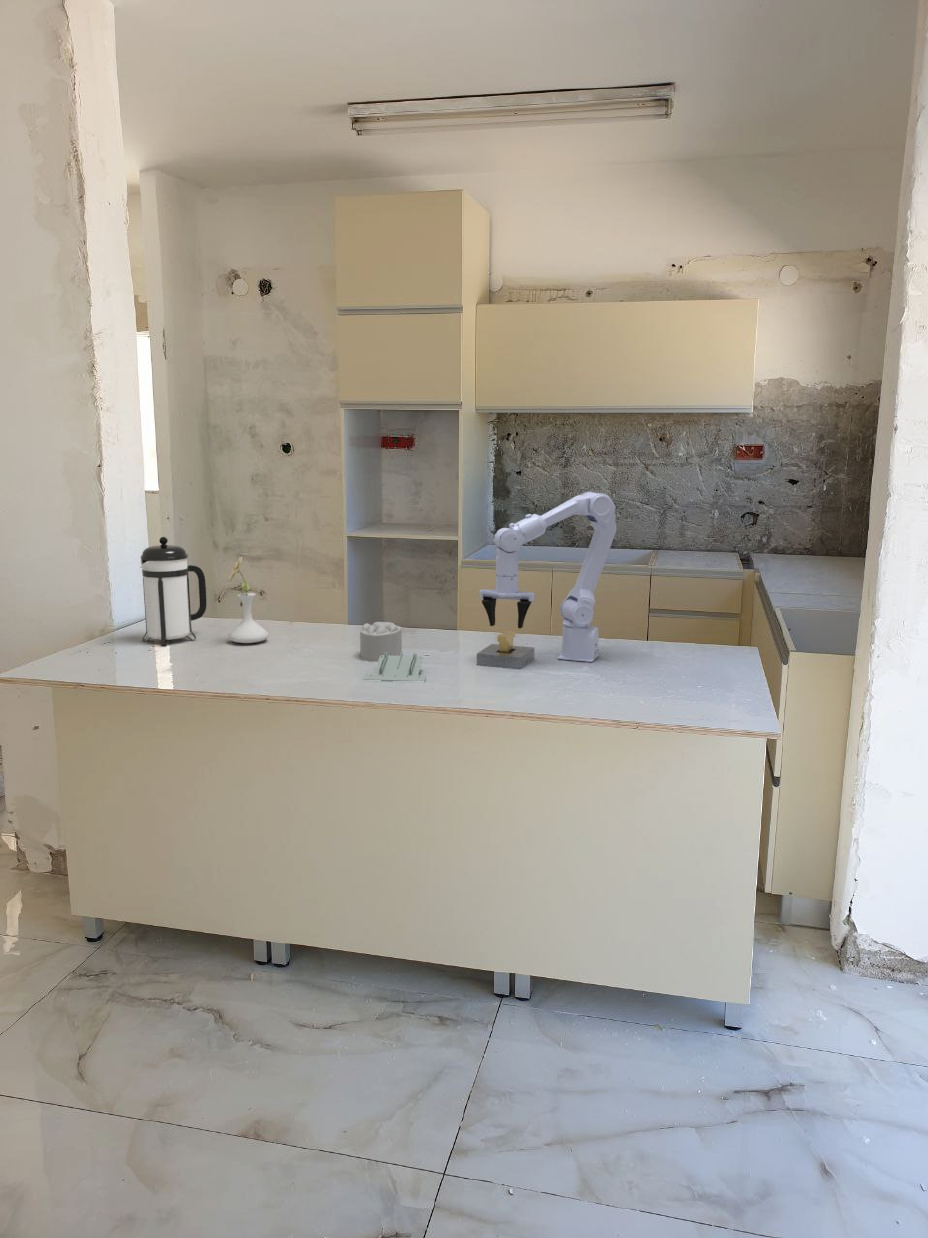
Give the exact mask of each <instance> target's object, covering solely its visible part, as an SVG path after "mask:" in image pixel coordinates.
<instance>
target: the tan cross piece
mask: <svg viewBox="0 0 928 1238" xmlns="http://www.w3.org/2000/svg"><path fill="white" fill-rule="evenodd" d="M514 638H516V632H515V631H512V630H504V631H503V632H502V633H500V634H499V635H497V637H496V639H497V643H498V645H499V653H511V652H513V646H514Z"/></svg>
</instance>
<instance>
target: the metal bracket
mask: <svg viewBox="0 0 928 1238" xmlns="http://www.w3.org/2000/svg"><path fill="white" fill-rule="evenodd" d="M381 657H382V658H381ZM423 660H424V656H421V655H417V652H413V653H412V655H403V650H402V651H401V655H400V656H390V655H388V652H387V653H386V652H385V654H384V655H381V656H380V657H379V660H378V661H377V664H376V667H375V670H374V672H373V673H365V675H364V676H363V680H381V681H380V682H393V681H425V682H426V677H427V675H426V674H425V675H422V674H420V671H421V667H422V663H423Z"/></svg>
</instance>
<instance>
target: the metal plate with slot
mask: <svg viewBox="0 0 928 1238" xmlns="http://www.w3.org/2000/svg"><path fill="white" fill-rule="evenodd" d="M533 660H535V647H529V646H521V645H520V646H518V645H513V652H511V653H499V643H498V644H497V643H491V644H489V645H488V646H486V647H485V648H483V649H481V650H480V651H478V652H477V653H476V666H484V667H485V666H486V667H495V668H504V669H505V668H507V669H508V668H509V669H518V670H522V669H523V668H524V667H526V666H527V665H528V664H529V663H530V662H532V661H533Z"/></svg>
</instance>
